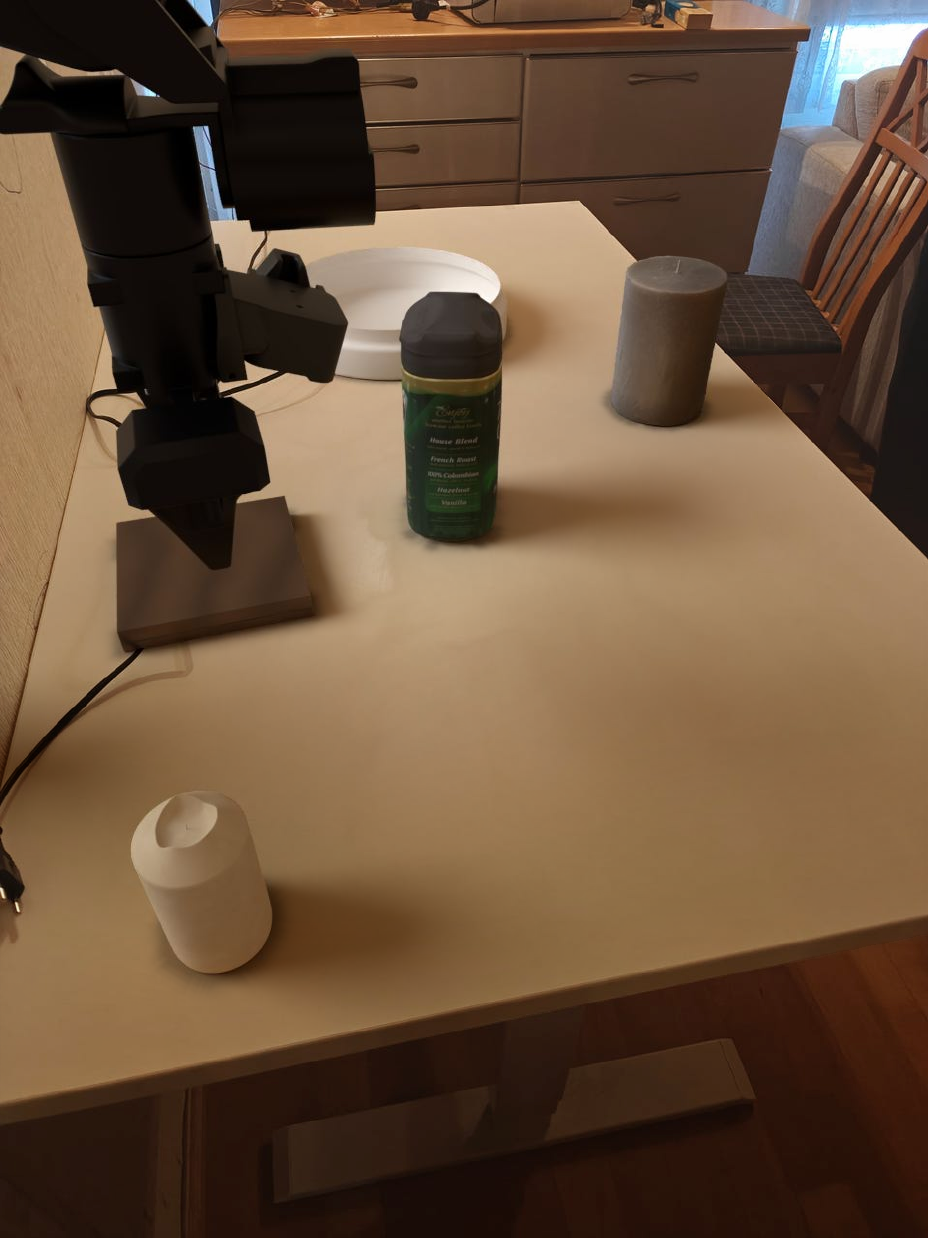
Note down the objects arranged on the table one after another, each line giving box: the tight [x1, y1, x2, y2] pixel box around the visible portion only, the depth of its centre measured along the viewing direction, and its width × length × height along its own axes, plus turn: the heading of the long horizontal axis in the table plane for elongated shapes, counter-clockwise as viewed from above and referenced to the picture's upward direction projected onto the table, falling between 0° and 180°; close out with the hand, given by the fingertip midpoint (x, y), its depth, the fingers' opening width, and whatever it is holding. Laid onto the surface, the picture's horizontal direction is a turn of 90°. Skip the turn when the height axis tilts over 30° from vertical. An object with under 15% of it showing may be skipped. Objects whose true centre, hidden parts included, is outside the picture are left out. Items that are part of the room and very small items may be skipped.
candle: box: [130, 790, 273, 974], centre depth 44 cm, size 6×6×10 cm
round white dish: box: [305, 246, 508, 381], centre depth 103 cm, size 27×27×6 cm
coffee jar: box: [399, 292, 504, 542], centre depth 70 cm, size 10×8×19 cm
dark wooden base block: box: [115, 495, 315, 652], centre depth 69 cm, size 14×14×2 cm
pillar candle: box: [610, 255, 729, 427], centre depth 87 cm, size 10×10×15 cm
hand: (212, 519), depth 50 cm, fingers open, 9 cm apart
